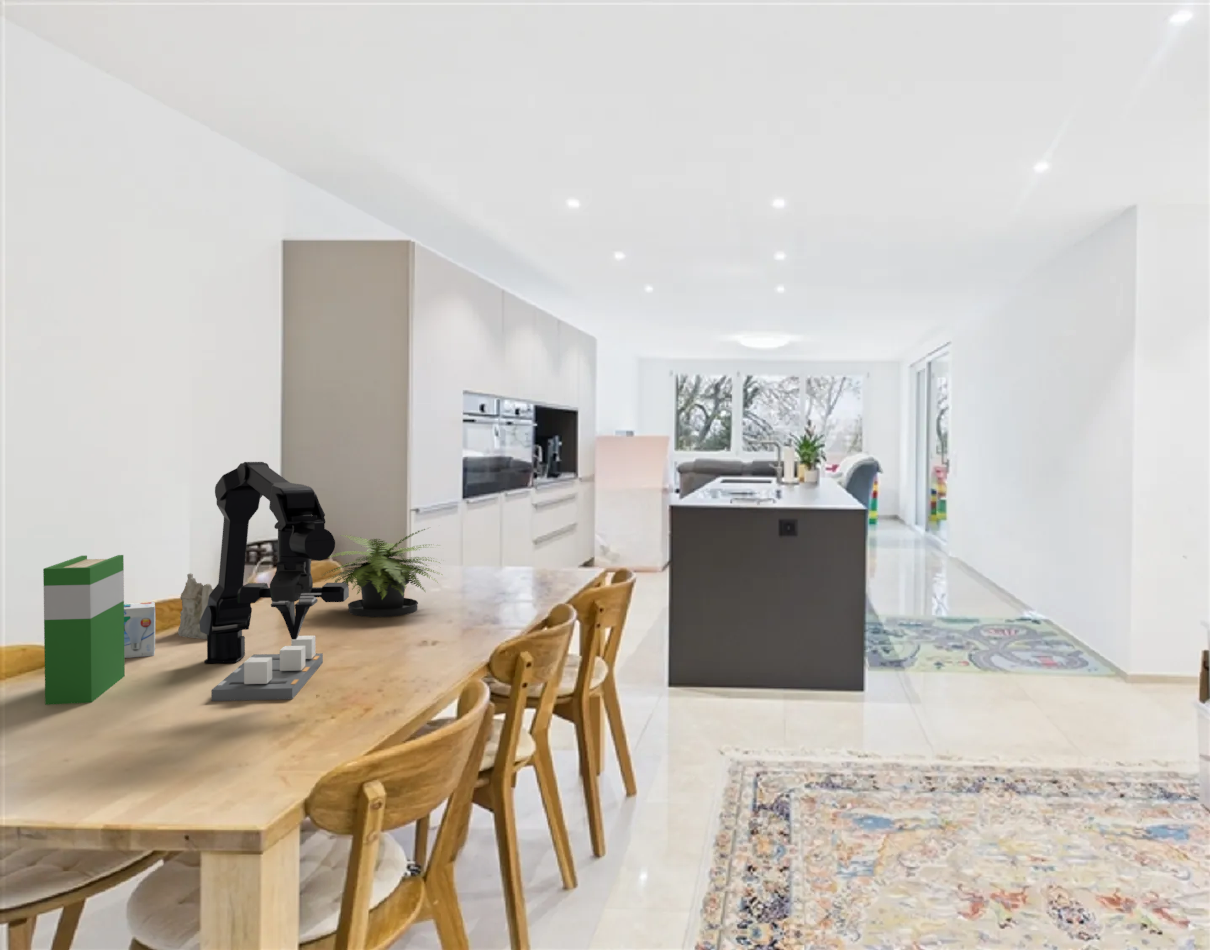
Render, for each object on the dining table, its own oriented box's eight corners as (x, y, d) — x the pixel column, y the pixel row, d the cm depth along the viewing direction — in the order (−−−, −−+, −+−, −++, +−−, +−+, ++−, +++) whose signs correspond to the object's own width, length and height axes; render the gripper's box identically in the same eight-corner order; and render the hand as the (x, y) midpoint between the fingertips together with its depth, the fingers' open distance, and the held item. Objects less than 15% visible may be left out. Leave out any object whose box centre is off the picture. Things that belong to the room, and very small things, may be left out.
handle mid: (279, 670, 168) (279, 650, 168) (284, 666, 172) (284, 645, 172) (301, 670, 169) (301, 649, 169) (305, 665, 172) (305, 645, 172)
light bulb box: (98, 661, 183) (98, 610, 183) (100, 654, 189) (99, 604, 189) (155, 655, 188) (155, 606, 188) (155, 649, 194) (155, 600, 194)
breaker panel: (211, 700, 156) (211, 689, 156) (253, 663, 182) (253, 653, 182) (292, 699, 158) (292, 687, 158) (322, 662, 184) (322, 652, 184)
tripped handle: (244, 684, 159) (244, 662, 159) (249, 678, 162) (249, 657, 162) (267, 683, 159) (266, 661, 159) (272, 678, 163) (272, 657, 163)
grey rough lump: (208, 640, 202) (209, 575, 203) (164, 635, 210) (165, 572, 211) (264, 632, 216) (265, 571, 216) (220, 627, 224) (222, 569, 224)
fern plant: (475, 615, 235) (476, 526, 234) (329, 630, 214) (329, 533, 213) (426, 594, 266) (426, 515, 265) (294, 605, 246) (294, 520, 245)
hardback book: (83, 677, 170) (81, 555, 170) (124, 676, 172) (123, 554, 171) (45, 704, 153) (43, 568, 152) (91, 702, 155) (90, 567, 154)
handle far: (291, 659, 177) (291, 639, 177) (295, 654, 181) (295, 635, 181) (311, 658, 178) (311, 639, 178) (315, 654, 181) (315, 635, 181)
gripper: (227, 561, 152) (228, 650, 152) (337, 560, 154) (337, 648, 154) (246, 552, 163) (247, 635, 163) (349, 552, 165) (349, 634, 165)
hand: (294, 638), depth 161 cm, fingers closed
